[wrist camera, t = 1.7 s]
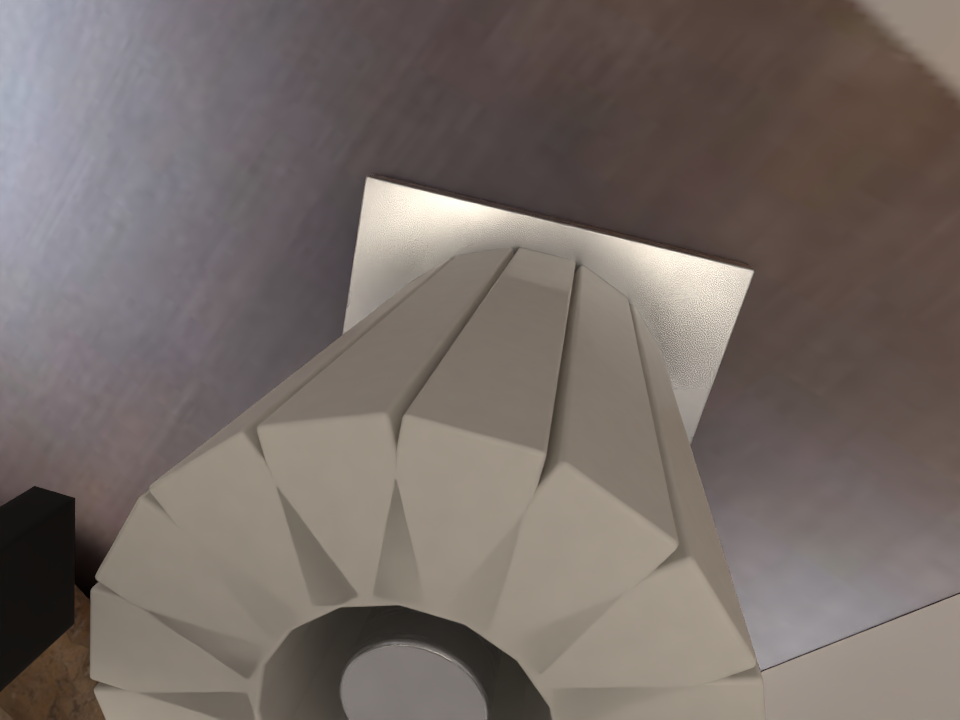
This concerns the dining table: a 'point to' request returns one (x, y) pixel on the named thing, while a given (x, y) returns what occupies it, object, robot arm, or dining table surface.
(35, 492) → the robot arm
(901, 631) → the milk
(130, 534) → the paper towel roll
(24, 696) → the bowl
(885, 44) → the dining table surface
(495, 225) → the towel stand
